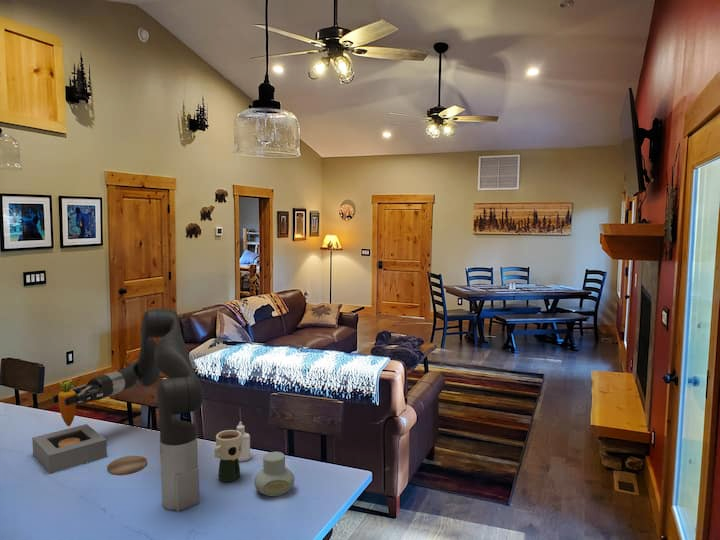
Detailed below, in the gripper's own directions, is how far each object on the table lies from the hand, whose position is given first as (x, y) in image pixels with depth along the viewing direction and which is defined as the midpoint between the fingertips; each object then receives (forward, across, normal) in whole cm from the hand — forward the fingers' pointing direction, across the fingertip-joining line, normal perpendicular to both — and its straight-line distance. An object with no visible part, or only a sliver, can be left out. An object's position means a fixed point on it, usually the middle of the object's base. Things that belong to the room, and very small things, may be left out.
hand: (59, 401), depth 161 cm
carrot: (-3, 0, +9) cm, 10 cm away
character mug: (-12, +55, +19) cm, 59 cm away
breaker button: (-2, 0, +16) cm, 16 cm away
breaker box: (-2, 0, +19) cm, 19 cm away
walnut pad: (-5, +22, +19) cm, 29 cm away
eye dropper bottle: (-24, +50, +19) cm, 59 cm away
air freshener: (-12, +70, +19) cm, 74 cm away
